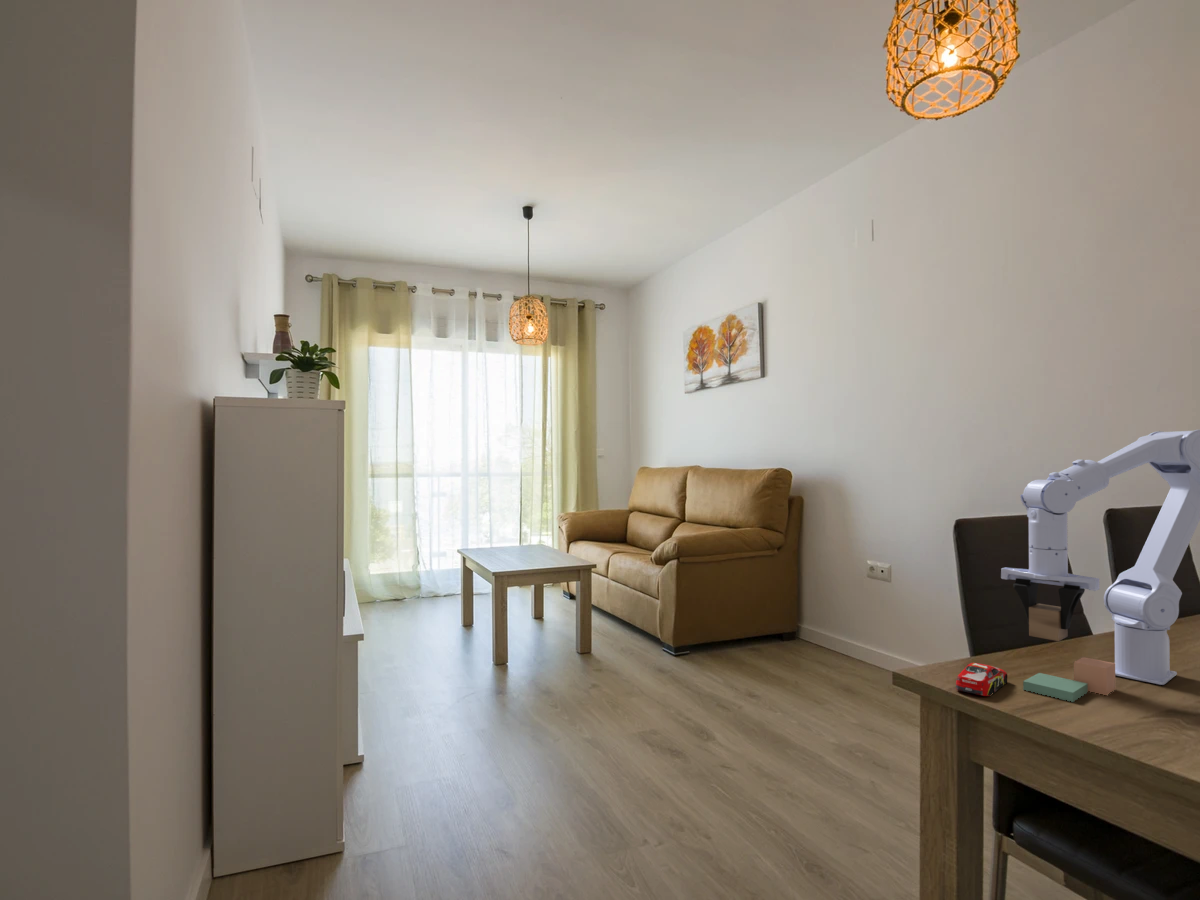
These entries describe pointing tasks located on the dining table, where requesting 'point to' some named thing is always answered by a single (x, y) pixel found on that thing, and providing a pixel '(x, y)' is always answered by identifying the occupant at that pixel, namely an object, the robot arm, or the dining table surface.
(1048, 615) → the walnut brick
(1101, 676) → the terracotta brick
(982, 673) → the race car
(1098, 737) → the dining table surface
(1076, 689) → the base plate
